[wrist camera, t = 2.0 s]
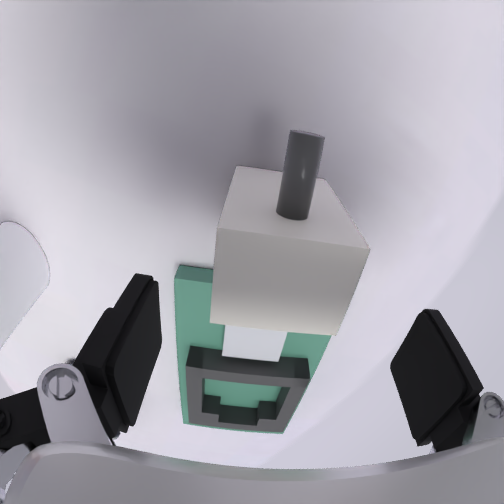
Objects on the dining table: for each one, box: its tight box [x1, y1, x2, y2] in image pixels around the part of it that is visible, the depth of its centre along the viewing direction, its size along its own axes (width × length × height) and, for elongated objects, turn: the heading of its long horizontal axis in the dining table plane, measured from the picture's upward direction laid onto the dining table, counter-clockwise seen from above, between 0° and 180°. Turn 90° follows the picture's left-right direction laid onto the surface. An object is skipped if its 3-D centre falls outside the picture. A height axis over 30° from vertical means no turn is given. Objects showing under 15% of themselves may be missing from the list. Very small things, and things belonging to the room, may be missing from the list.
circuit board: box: [174, 265, 332, 434], centre depth 23 cm, size 20×11×4 cm, turn 172°
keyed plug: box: [210, 130, 370, 336], centre depth 13 cm, size 8×5×8 cm, turn 172°
